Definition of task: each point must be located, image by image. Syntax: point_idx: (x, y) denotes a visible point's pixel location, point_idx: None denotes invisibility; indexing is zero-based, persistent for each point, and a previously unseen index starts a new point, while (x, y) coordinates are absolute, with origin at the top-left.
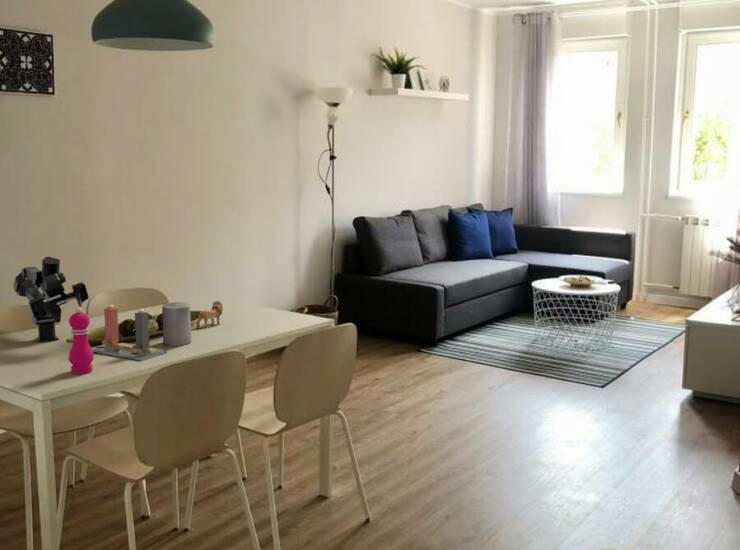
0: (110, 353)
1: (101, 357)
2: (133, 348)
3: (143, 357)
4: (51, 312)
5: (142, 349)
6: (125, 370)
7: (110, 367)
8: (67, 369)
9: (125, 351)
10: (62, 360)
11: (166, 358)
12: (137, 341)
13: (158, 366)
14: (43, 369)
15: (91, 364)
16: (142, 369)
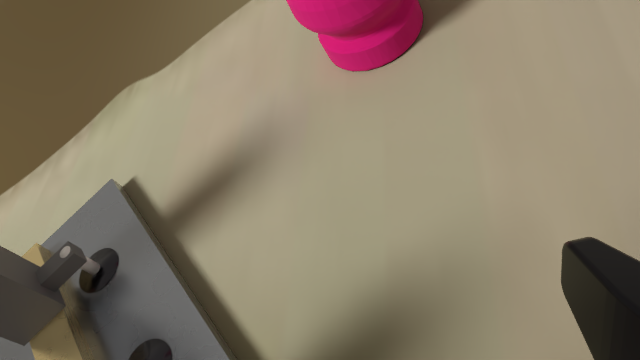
0: (200, 313)
1: (262, 284)
2: (84, 256)
3: (100, 190)
4: (613, 276)
5: None
6: (212, 60)
7: (254, 96)
8: (447, 60)
9: (122, 320)
10: (508, 246)
11: (33, 218)
12: (26, 281)
13: (103, 110)
14: (597, 52)
15: (320, 35)
16: (159, 75)
